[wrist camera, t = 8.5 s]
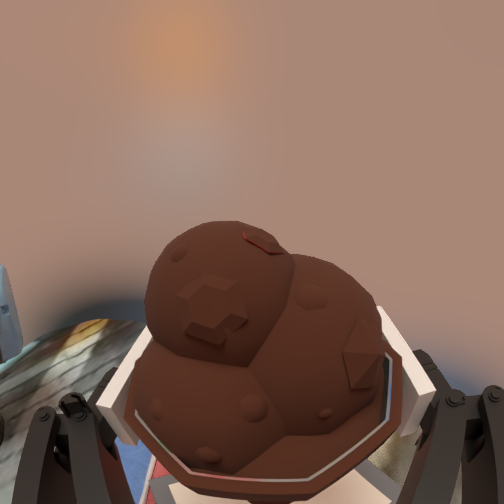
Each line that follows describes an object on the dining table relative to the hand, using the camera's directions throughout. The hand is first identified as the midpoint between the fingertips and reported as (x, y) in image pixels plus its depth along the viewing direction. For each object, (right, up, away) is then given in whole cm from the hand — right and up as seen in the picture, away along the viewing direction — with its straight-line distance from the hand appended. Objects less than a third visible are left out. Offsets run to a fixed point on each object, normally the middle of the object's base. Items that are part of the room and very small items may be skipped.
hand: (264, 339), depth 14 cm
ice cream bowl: (+1, -9, -1) cm, 9 cm away
